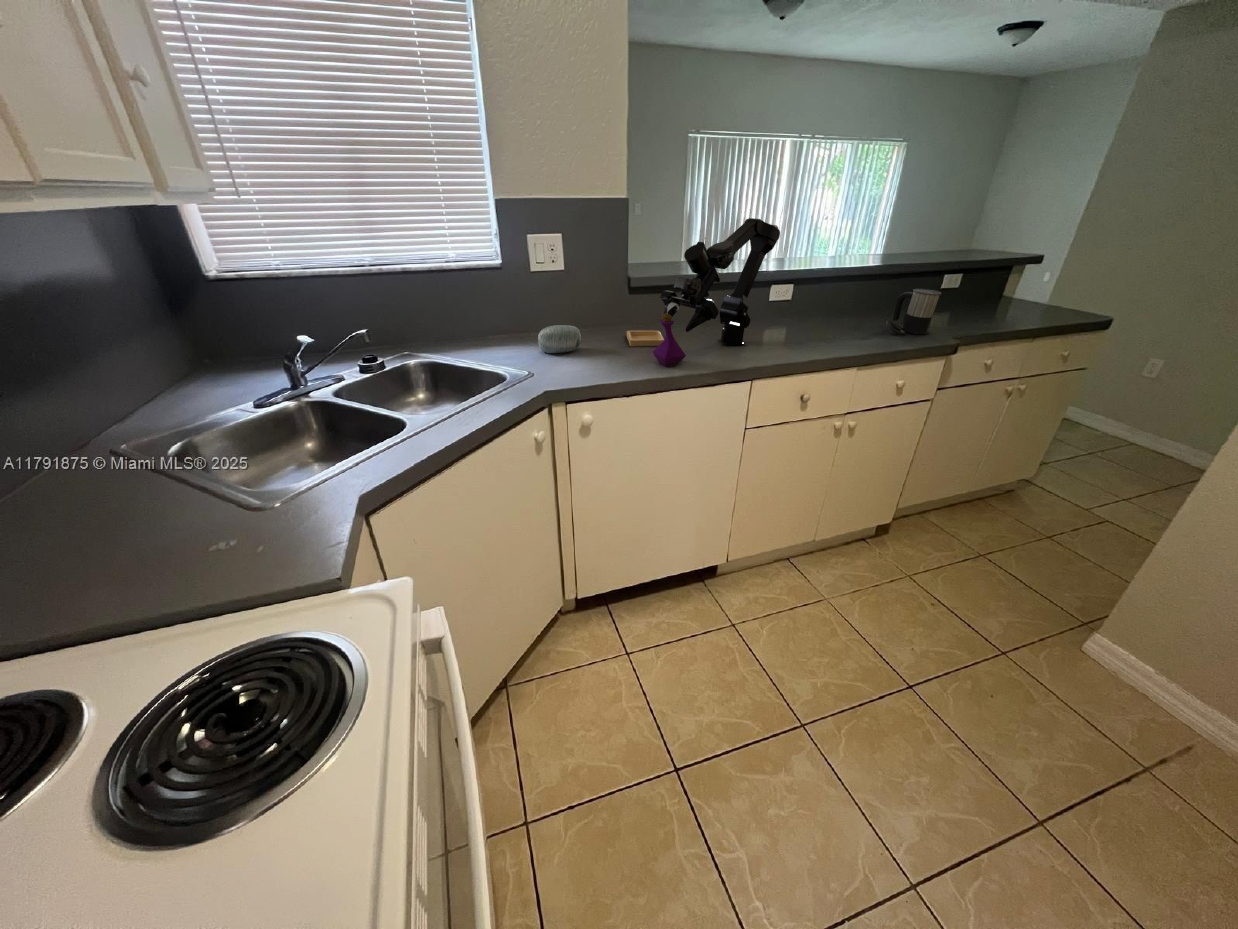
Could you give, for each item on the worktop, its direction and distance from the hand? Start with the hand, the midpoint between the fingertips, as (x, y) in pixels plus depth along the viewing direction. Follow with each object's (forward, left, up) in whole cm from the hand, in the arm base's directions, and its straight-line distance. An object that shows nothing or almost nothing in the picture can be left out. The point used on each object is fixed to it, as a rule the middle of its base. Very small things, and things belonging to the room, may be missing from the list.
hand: (674, 327), depth 143 cm
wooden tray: (+5, -23, -11) cm, 26 cm away
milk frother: (-96, -32, -11) cm, 102 cm away
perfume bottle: (+1, +1, -11) cm, 11 cm away
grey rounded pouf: (+34, -12, -11) cm, 38 cm away
